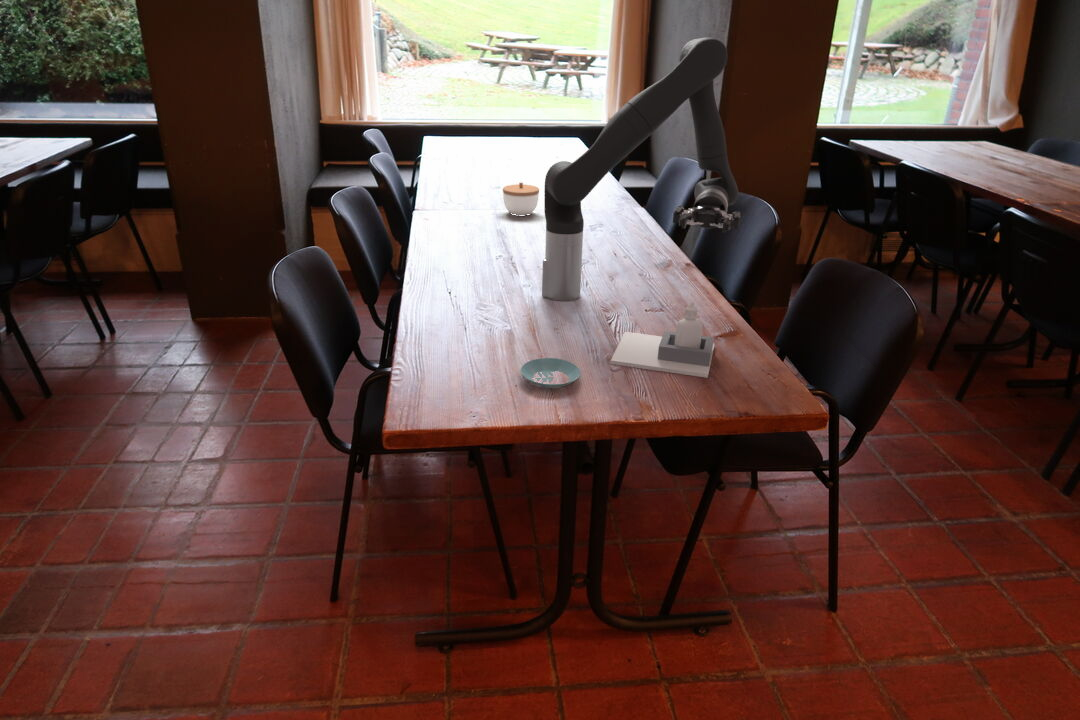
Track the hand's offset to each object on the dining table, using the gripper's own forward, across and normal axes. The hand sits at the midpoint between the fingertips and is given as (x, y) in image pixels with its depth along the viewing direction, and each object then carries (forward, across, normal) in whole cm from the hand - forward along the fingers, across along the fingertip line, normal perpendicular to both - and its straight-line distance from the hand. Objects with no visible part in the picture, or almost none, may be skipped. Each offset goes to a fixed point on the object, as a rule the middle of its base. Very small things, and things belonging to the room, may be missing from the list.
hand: (703, 225), depth 159 cm
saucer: (+30, -24, +26) cm, 47 cm away
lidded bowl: (-91, -69, +26) cm, 117 cm away
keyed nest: (+11, -4, +26) cm, 29 cm away
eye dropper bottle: (+11, 0, +25) cm, 28 cm away
